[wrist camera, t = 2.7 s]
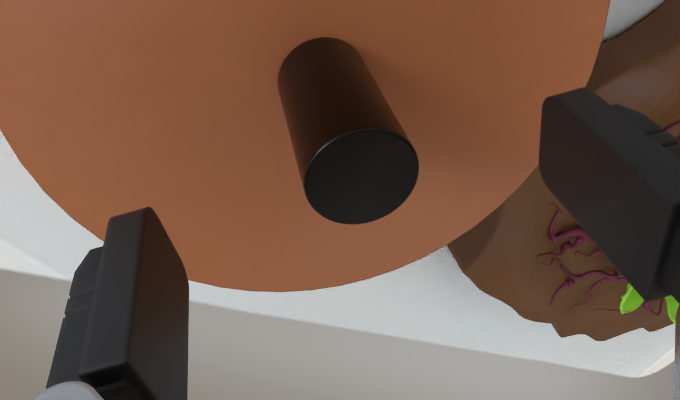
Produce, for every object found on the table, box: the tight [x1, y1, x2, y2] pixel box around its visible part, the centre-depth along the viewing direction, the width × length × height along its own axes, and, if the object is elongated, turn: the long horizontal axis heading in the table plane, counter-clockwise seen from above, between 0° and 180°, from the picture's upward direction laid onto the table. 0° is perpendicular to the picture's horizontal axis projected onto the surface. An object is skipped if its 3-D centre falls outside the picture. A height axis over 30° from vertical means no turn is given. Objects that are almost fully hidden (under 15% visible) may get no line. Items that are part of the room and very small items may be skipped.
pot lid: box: [0, 0, 610, 292], centre depth 13 cm, size 16×16×6 cm
